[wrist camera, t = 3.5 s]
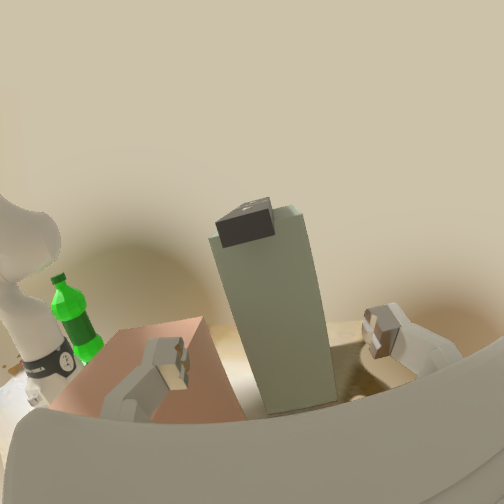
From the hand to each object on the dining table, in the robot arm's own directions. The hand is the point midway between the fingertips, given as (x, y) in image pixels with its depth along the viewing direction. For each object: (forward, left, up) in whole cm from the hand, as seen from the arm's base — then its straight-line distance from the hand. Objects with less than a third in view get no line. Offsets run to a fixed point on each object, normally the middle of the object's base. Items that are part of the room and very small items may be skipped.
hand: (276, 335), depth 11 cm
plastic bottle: (-55, +40, -24) cm, 73 cm away
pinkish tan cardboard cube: (-15, +8, -23) cm, 29 cm away
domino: (-1, +20, +3) cm, 21 cm away
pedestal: (-1, +24, -23) cm, 34 cm away
